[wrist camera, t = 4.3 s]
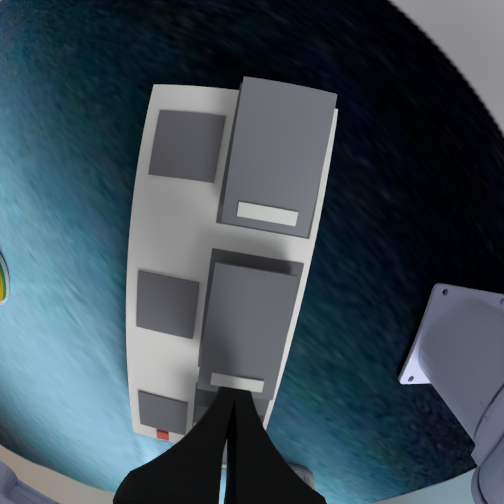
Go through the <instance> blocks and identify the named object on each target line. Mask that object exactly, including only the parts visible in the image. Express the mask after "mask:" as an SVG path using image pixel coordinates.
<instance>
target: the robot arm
mask: <svg viewBox="0 0 504 504" xmlns="http://www.w3.org/2000/svg"><path fill="white" fill-rule="evenodd" d="M444 289H445V292H444V293H443V290H444ZM442 293H443V294H442ZM409 377H411V378H409ZM398 380H399V382H400V383H401V384H420V383H431V384H432V385H433V386H434V388H435V389H436V390H437V392H438V393H439V394H440V396H441V397H442V398H443V400H444V401H445V402H446V404H447V405H448V406H449V408H450V409H451V411H452V412H453V413H454V415H455V416H456V417H457V419H458V420H459V422H460V423H461V424H462V426H463V427H464V429H465V430H466V431H467V433H468V434H469V436H470V437H471V439H472V440H473V441H474V443H475V445H476V446H475V449H474V451H473V452H472V454H471V456H472V457H473V459H474V460H475V462H476V464H477V465H478V466H477V468H476V469H475V472H474V474H473V477H472V482H471V492H472V497H473V500H474V503H475V504H504V294H499V293H494V292H488V291H482V290H477V289H471V288H465V287H460V286H454V285H448V284H442V283H437V284H435V285H434V287H433V289H432V292H431V295H430V298H429V301H428V304H427V307H426V310H425V313H424V316H423V319H422V321H421V324H420V327H419V330H418V332H417V335H416V337H415V340H414V342H413V345H412V347H411V350H410V352H409V355H408V357H407V359H406V362H405V364H404V366H403V368H402V371H401V373H400V375H399V378H398ZM226 440H227V478H226V490H225V498H224V504H327V503H326V500H325V498H324V497H323V496H322V495H320V494H319V493H318V492H316V491H315V490H314V489H312V488H311V487H310V486H309V485H308V484H307V483H305V482H304V481H303V480H302V479H301V478H300V477H299V476H298V475H297V474H296V473H295V472H294V471H293V469H292V468H291V467H290V466H289V465H288V464H287V463H286V462H285V460H284V459H283V458H282V456H281V455H280V454H279V452H278V451H277V449H276V448H275V446H274V445H273V443H272V441H271V440H270V438H269V436H268V434H267V433H266V431H265V429H264V427H263V424H262V422H261V420H260V418H259V415H258V413H257V410H256V407H255V404H254V401H253V397H252V393H251V391H250V390H243V389H237V388H230V387H224V386H221V387H219V388H218V392H217V394H216V396H215V398H214V400H213V401H212V403H211V405H210V406H209V408H208V409H207V410H206V412H205V413H204V415H203V416H202V417H201V418H200V420H199V421H198V422H197V423H196V424H195V426H194V427H193V428H192V429H191V430H190V431H189V432H188V433H187V434H186V435H185V436H184V437H183V438H182V439H181V440H180V441H178V442H177V443H176V444H175V445H173V446H172V447H171V448H170V449H168V450H167V451H166V452H164V453H163V454H161V455H160V456H158V457H156V458H155V459H153V460H152V461H150V462H148V463H146V464H144V465H142V466H140V467H138V468H136V469H134V470H132V471H130V472H129V474H128V475H127V476H126V477H125V478H124V480H123V481H122V482H121V484H120V486H119V487H118V489H117V491H116V494H115V496H114V499H113V504H219V492H220V480H221V470H222V460H223V452H224V448H225V444H226ZM0 504H60V503H58V502H56V501H54V500H52V499H50V498H48V497H47V496H45V495H43V494H41V493H40V492H38V491H36V490H35V489H33V488H31V487H30V486H28V485H26V484H25V483H23V482H22V481H20V480H18V478H17V476H16V474H15V473H14V472H13V471H12V470H11V469H10V468H9V467H8V466H7V465H5V464H4V463H3V462H1V461H0Z"/></svg>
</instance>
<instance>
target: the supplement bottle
mask: <svg viewBox="0 0 504 504" xmlns="http://www.w3.org/2000/svg"><path fill="white" fill-rule="evenodd" d="M9 291H10V281H9V274H8V270H7V266H6V264H5V262H4V260H3V258H2V256H1V255H0V306H1V305H2V304H4V303H5V302H6V300H7V298H8V296H9Z"/></svg>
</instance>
